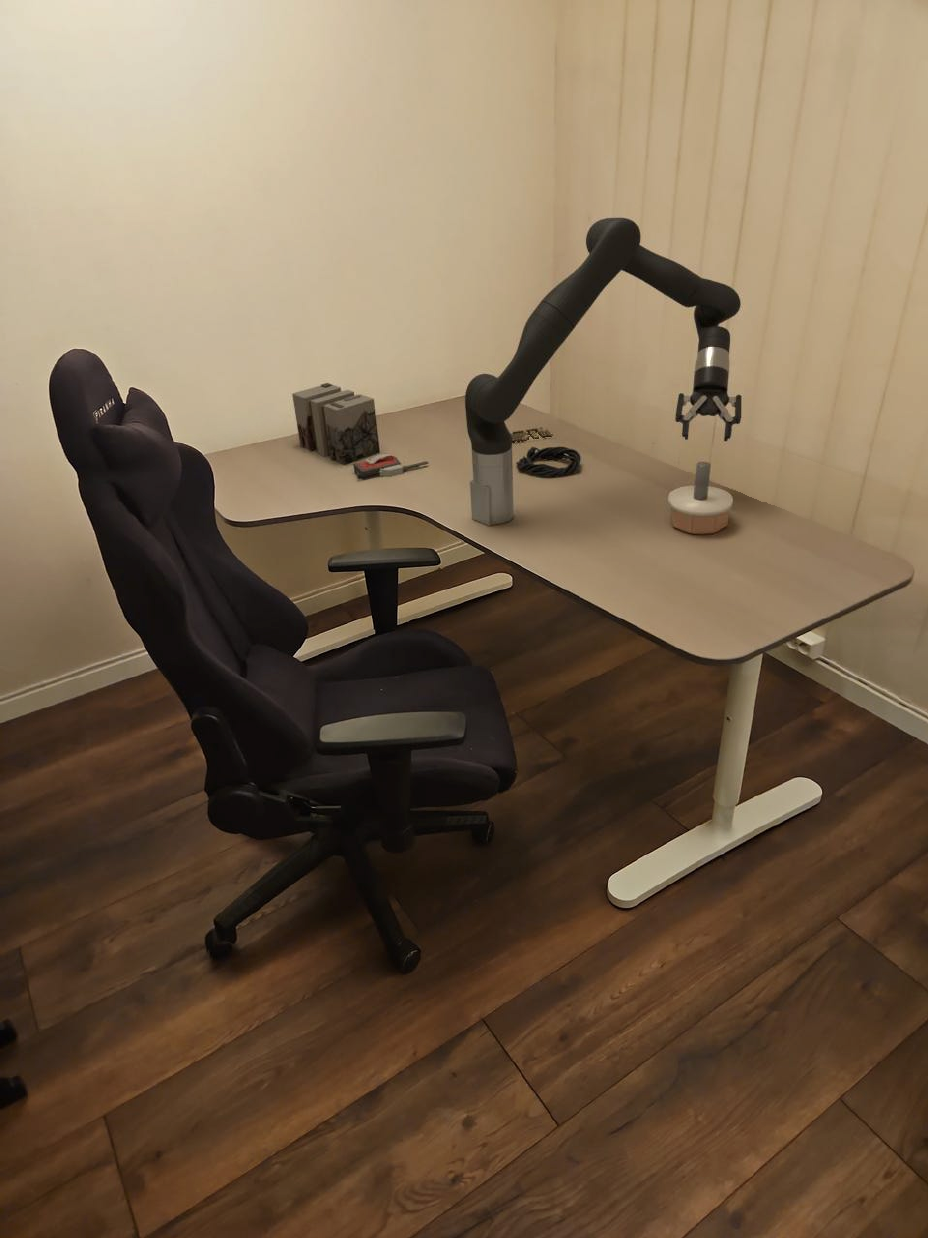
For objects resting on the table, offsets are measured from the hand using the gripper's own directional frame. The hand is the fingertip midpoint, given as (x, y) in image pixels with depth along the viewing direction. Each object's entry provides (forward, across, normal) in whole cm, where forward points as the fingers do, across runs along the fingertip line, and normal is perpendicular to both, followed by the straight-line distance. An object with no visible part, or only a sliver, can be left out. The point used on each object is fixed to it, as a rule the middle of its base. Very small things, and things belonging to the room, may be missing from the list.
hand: (706, 439), depth 197 cm
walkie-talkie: (+2, -81, +24) cm, 85 cm away
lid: (+14, 0, +4) cm, 14 cm away
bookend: (-7, -101, +32) cm, 106 cm away
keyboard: (-17, -52, +43) cm, 69 cm away
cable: (-2, -39, +28) cm, 48 cm away
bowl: (+17, 0, +8) cm, 19 cm away
